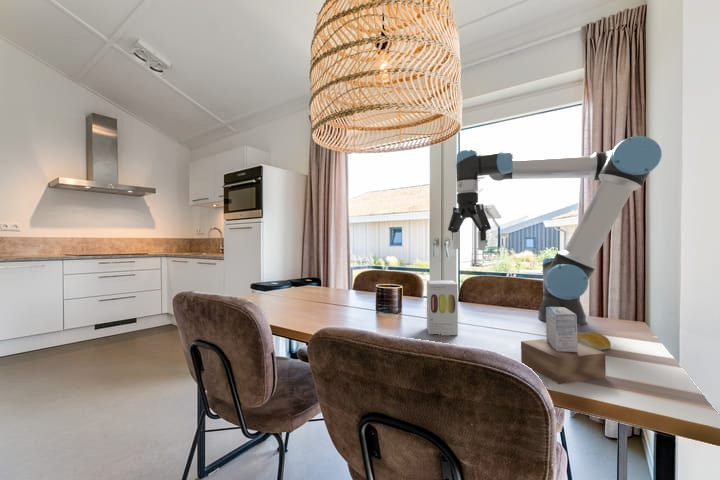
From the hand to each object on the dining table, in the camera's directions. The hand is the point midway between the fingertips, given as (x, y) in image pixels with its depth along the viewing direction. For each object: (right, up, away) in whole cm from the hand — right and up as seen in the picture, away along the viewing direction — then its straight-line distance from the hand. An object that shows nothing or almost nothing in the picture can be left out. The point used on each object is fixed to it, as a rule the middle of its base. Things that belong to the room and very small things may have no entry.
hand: (468, 249), depth 126 cm
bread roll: (+25, -27, -30) cm, 48 cm away
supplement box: (-13, -27, -13) cm, 33 cm away
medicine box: (+7, -22, -47) cm, 52 cm away
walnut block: (+7, -28, -47) cm, 55 cm away
